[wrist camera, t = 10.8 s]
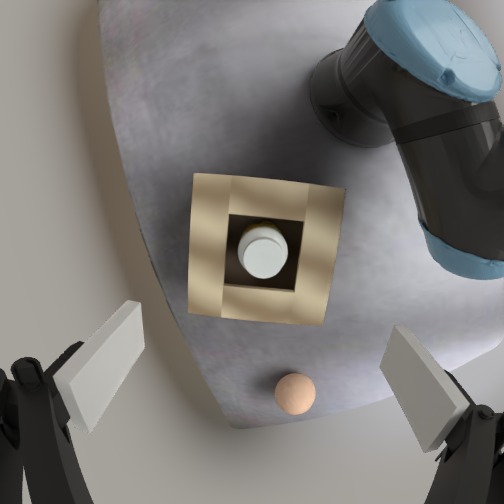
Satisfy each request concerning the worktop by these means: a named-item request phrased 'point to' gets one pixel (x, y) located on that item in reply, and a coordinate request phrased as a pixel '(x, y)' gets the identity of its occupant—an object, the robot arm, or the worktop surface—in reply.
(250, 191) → the drop box
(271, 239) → the supplement bottle
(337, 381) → the worktop surface
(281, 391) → the egg
